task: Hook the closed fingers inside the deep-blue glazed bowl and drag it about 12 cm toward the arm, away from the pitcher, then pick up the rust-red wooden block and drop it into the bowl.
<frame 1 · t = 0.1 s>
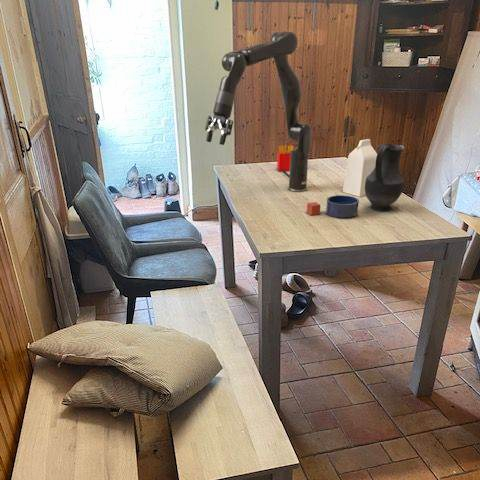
hand: (214, 143, 215), 31 cm above the table, tool tilted 20°, fingers open, 8 cm apart
bowl: (341, 213, 229), on the table
block: (313, 213, 230), on the table
french fries container: (285, 170, 300), on the table
pitcher: (379, 209, 235), on the table
milk: (358, 192, 259), on the table
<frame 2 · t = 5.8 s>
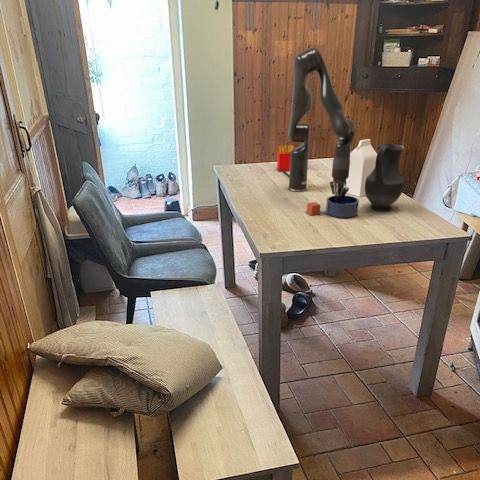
hand: (337, 204, 231), 3 cm above the table, tool pointing down, fingers closed
bowl: (341, 213, 229), on the table, touching gripper
everything else where it was.
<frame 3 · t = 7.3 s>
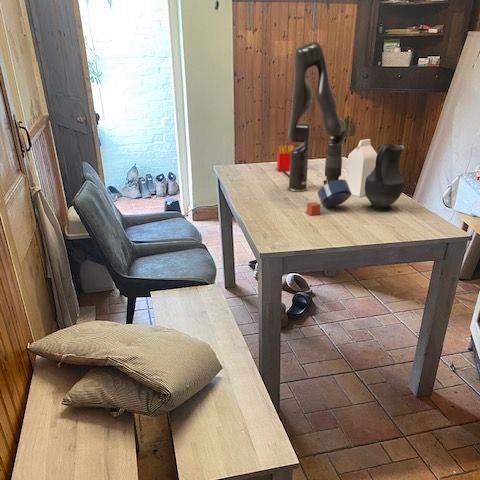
hand: (331, 202, 236), 2 cm above the table, tool pointing down, fingers closed
bowl: (336, 200, 231), point 5 cm above the table, tilted 47°, touching gripper
everything else where it was.
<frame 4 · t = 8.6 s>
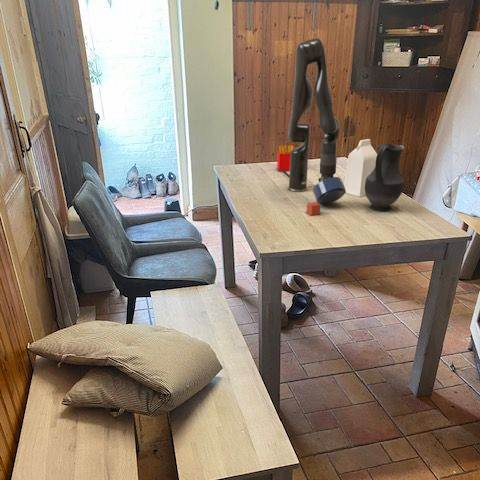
hand: (326, 199, 240), 2 cm above the table, tool pointing down, fingers closed
bowl: (331, 197, 235), point 5 cm above the table, tilted 47°, touching gripper, hand
everything else where it was.
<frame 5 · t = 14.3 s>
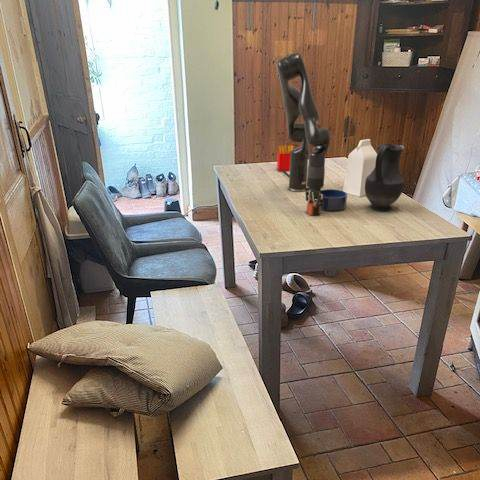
hand: (313, 212, 230), 0 cm above the table, tool pointing down, fingers closed on block, 4 cm apart
bowl: (330, 206, 238), on the table
block: (313, 213, 230), on the table, touching gripper
everything else where it was.
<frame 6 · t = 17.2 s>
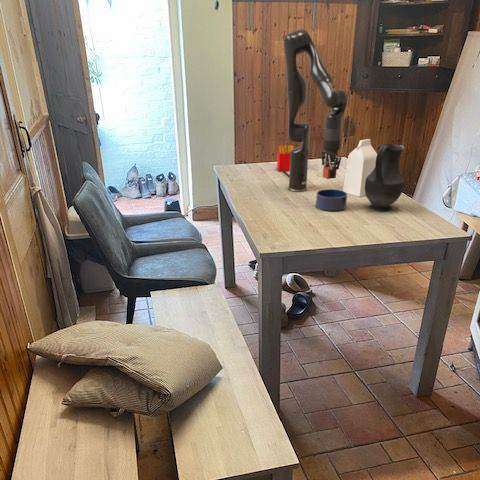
hand: (329, 176, 231), 14 cm above the table, tool pointing down, fingers closed on block, 4 cm apart
block: (329, 177, 231), point 14 cm above the table, touching gripper
everything else where it was.
when the fingers open (3 cm above the table, at t = 20.4 s): block drops 2 cm, point 1 cm above the table.
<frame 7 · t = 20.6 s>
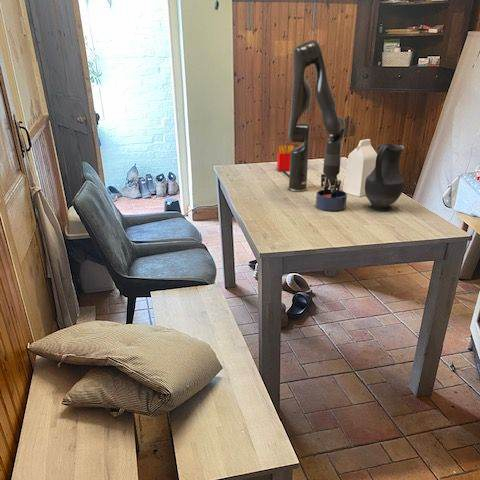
hand: (329, 198, 237), 4 cm above the table, tool pointing down, fingers open, 6 cm apart
bowl: (330, 206, 238), on the table
block: (328, 204, 239), point 1 cm above the table
everything else where it was.
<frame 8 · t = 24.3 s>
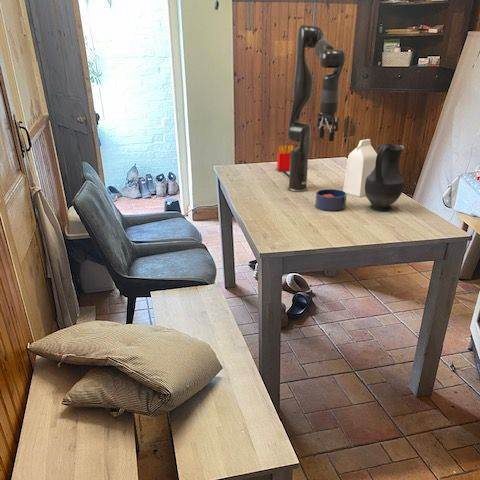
hand: (326, 139, 227), 30 cm above the table, tool pointing down, fingers open, 8 cm apart
bowl: (330, 206, 238), on the table, touching block
block: (327, 204, 239), point 1 cm above the table, touching bowl
everything else where it was.
at the end: bowl inside the target area (1.1 cm from its centre), on the table; block inside the target area in the bowl (1.6 cm from its centre), point 0.6 cm above the bowl's base; bowl tilted 0° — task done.
